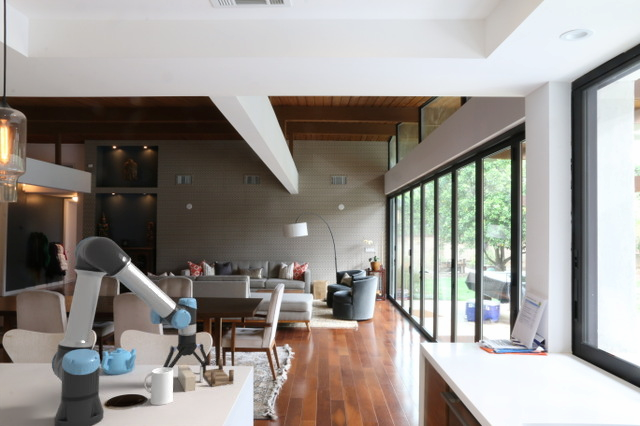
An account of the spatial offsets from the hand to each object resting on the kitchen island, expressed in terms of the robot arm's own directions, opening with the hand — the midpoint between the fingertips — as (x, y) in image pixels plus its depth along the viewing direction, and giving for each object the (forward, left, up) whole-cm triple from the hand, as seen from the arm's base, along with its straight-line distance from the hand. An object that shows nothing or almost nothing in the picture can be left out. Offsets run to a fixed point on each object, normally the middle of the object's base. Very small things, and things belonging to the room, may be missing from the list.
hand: (186, 383), depth 196 cm
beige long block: (0, 0, 0) cm, 0 cm away
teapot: (+33, +26, 0) cm, 42 cm away
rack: (+2, -14, 0) cm, 14 cm away
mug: (-16, +14, 0) cm, 21 cm away
